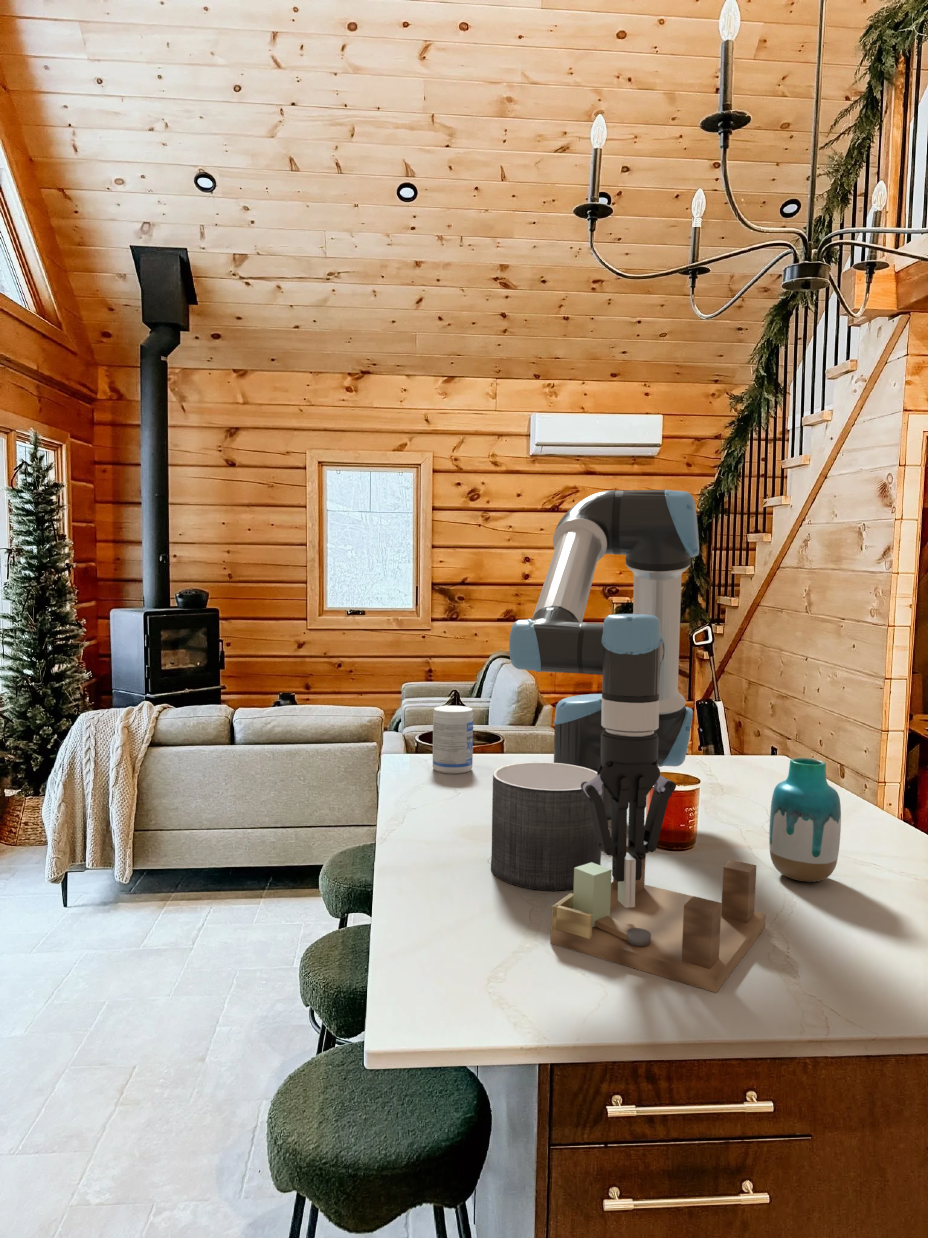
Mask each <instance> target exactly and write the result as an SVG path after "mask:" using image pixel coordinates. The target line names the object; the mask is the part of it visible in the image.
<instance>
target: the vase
mask: <svg viewBox="0 0 928 1238" xmlns="http://www.w3.org/2000/svg"><path fill="white" fill-rule="evenodd" d="M787 774H788V775H787V778H786V779H785V780H783V781H781V782H778V783H777V784H776V786H775V787H774V789H773V793H772V797H771V804H770V810H769V811H770V812H769V813H770V814H769V824H768V825H769V826H768V827H769V829H768V833H769V834H768V836H769V837H768V841H769V842H768V845H769V855H770V859H771V863H772V865H773V866H774V867H775V869H776V870H777V872H779V873H780V874H781V875H783V876H785V877H787V878H789V879H792V880H796V881H799V882H807V883H811V882H812V883H813V882H820V881H823V880H826V879H828V878H829V877H830V876H831V875H832V874H833V873H834V871H835V869H836V866H837V864H838V858H839V852H840V842H841V831H842V830H841V827H842V824H841V823H842V810H841V807H842V806H841V805H842V804H841V798H840V795H839V793H838V791H837V790H836V789H835V788H834V787H832V786H830V785H829V784H828V781H827V763H826V762H825V761H823V760H821V759H816V758H809V757H793V758H791V759H790V760H789V768H788V773H787Z"/></svg>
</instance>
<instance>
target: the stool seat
mask: <svg viewBox="0 0 928 1238" xmlns="http://www.w3.org/2000/svg"><path fill="white" fill-rule="evenodd" d="M626 853H629V850H628V837H627V841H626ZM645 855H646V856H647V853H646V854H645ZM722 868H723V871H722V888H721V889H722V892H721V902H720V901H715V900H711V899H707V898H702V897H699V896H695V895H690V894H686V893H681V892H677V891H673V890H669V889H665V888H661V887H657V886H651V885H647V884H645V881H646V879H645V878H646V877H645V875H646V857H645V859H643V860H642V876H641V879H640V880H635V907H629V908H625V907H624V906H623V905H622V904H621V903H620V902H619V901H618V882H617V881H616V880H615V879H614V878H613V879H612V881H611V899H610V917H611V918H613V919H616V920H618V921H620V922H622V923H625V924H627V925H629V926H632V927H634V928H641V929H645V930H647V931H649V932H650V933H651V943H650V944H649V945H647V946H636V945H632V944H630V943H628V942H627V941H626V940H624V939H622V938H620V937H617V936H615V935H613V934H611V933H609V932H606V931H604V930H602V929H600V928H598V927H592V914H589V913H586V912H582V911H578V910H575V909H573V893H572V892H570V893H568V894H567V895H566V896H564V897H563V898H561V899H560V900H559V901H557V902H555V903H554V904H553V905H551V927H550V937H549V938H550V939H549V943H550V944H552V945H556V946H559V947H563V948H566V949H568V950H573V951H575V952H579V953H582V954H585V955H587V956H593V957H595V958H599V959H603V960H605V961H609V962H611V963H612V962H613V963H615V964H619V965H622V966H626V967H629V968H632V969H636V970H638V971H642V972H645V973H649V974H653V975H656V976H659V977H661V978H662V977H663V978H665V979H669V980H672V981H676V982H677V983H678V982H679V983H682V984H685V985H689V986H692V987H696V988H699V989H702V990H706V991H707V992H708V991H709V992H712V993H715V994H717V993H718V992H719V990H720V989H721V988H722V986H723V985H724V984H725V982H726V981H727V980H728V978H729V977H730V976H731V974H732V973H733V971H734V970H735V968H736V967H737V966H738V965H739V963H740V962H741V960H742V959H743V958H745V956H746V954H747V953H748V951H749V950H750V948H751V947H752V946H753V945H754V943H755V942H756V940H757V939H758V938H759V936H760V935H761V934H762V933H763V931H764V930H765V929H766V916H767V914H766V913H764V912H761V911H757V910H755V902H756V882H757V880H756V879H757V864H754V863H753V864H752V863H749V862H743V861H738V860H734V859H730V860H729V861H728V862H727V863H726V864H725V865H724V866H723V867H722Z"/></svg>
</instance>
